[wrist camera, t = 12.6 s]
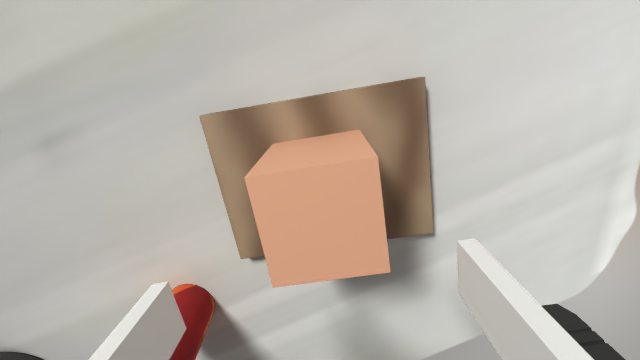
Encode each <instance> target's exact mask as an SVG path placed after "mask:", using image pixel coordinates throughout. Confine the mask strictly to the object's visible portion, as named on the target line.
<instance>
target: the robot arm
mask: <svg viewBox="0 0 640 360" xmlns="http://www.w3.org/2000/svg"><path fill="white" fill-rule="evenodd" d="M457 259H458V293H459V295H460V296H461V298H462V299H463V301H464V302H465V304H466V305H467V307H468V308H469V310H470V312H471V313H472V315H473V316H474V318H475V319H476V321H477V322H478V324H479V325H480V327H481V329H482V330H483V332H484V333H485V335H486V336H487V338H488V339H489V341H490V342H491V344H492V345H493V347H494V349H495V350H496V352H497V353H498V355H499V356H500V358H501V359H502V360H625V359H624V358H623V357H622V356H621V355H620V354H619V353H617V352H616V351H615V350H614V349H613V348H612V347H611V346H610V345H609V344H607V343H605V342H604V340H603V339H602V338H601V337H600V336H599V335H598V334H597V333H596V332H594V331H592V330H591V328H590V327H589V326H588V325H587V324H586V323H585V322H584V321H582V320H581V319H580V318H579V317H578V316H577V315H576V314H574V313H572V312H570V311H569V310H567V309H565V308H563V307H562V306H560V305H558V304H552V305H544V306H541V305H540V304H539V303H538V302H537V301H536V300H535V299H534V298H533V297H532V296H531V295H530V294H529V293H528V292H527V291H526V290H525V289H524V288H523V287H522V286H521V285H520V284H519V283H518V282H517V281H516V280H515V279H514V278H513V277H512V276H511V275H510V274H509V273H508V272H507V271H506V270H505V269H504V267H503V266H502V265H501V264H500V263H499V262H498V261H497V260H496V259H495V258H494V257H493V256H492V255H491V254H490V253H489V252H488V251H487V250H486V249H485V248H484V247H483V246H482V245H481V244H480V243H479V242H478V241H477V240H476V239H475V238H474V239H467V240H460V241H457ZM185 330H186V326H185V324H184V321H183V318H182V316H181V313H180V311H179V308H178V306H177V303H176V300H175V298H174V295H173V293H172V290H171V288H170V285H169V282H163V283H156V284H152V285H151V286H150V287H149V289H148V290H147V291H146V292H145V293H144V295H143V296H142V297H141V298H140V299H139V301H138V302H137V303H136V304H135V305H134V306H133V308H132V309H131V310H130V311H129V312H128V314H127V315H126V316H125V317H124V318H123V320H122V321H121V322H120V323H119V324H118V325H117V327H116V328H115V329H114V330H113V331H112V333H111V334H110V335H109V336H108V337H107V339H106V340H105V341H104V342H103V343H102V344H101V346H100V347H99V348H98V349H97V350H96V352H95V353H94V354H93V355H92V356H91V358H90V359H89V360H169V359H170V358H171V356H172V354H173V352H174V350H175V349H176V347H177V345H178V343H179V341H180V339H181V338H182V336H183V334H184V332H185ZM0 360H40V359H38V358H35V357H32V356H29V355H25V354H21V353H14V352H0Z"/></svg>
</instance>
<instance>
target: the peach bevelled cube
mask: <svg viewBox="0 0 640 360" xmlns="http://www.w3.org/2000/svg"><path fill="white" fill-rule="evenodd" d="M244 179H245V182H246V186H247V190H248V194H249V198H250V201H251V205H252V209H253V213H254V217H255V221H256V224H257V228H258V232H259V236H260V240H261V244H262V247H263V251H264V255H265V259H266V263H267V267H268V270H269V274H270V278H271V282H272V286H273V287H281V286H289V285H297V284H304V283H312V282H320V281H328V280H336V279H343V278H351V277H359V276H367V275H374V274H382V273H390V263H389V254H388V244H387V235H386V226H385V217H384V208H383V199H382V190H381V180H380V171H379V162H378V156H377V154H376V153H375V152H374V150H373V149H372V147H371V146H370V144H369V143H368V141H367V140H366V138H365V137H364V135H363V134H362V132H361V131H360V130H354V131H348V132H341V133H335V134H329V135H323V136H317V137H311V138H305V139H299V140H293V141H286V142H280V143H274V144H272V145H271V146H270V148H269V149H268V150H267V151H266V152H265V154H264V155H263V156H262V157H261V158H260V159H259V161H258V162H257V163H256V164H255V165H254V167H253V168H252V169H251V170H250V171H249V172H248V174H247V175H246V176H245V177H244Z"/></svg>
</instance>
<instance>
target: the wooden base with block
mask: <svg viewBox="0 0 640 360" xmlns="http://www.w3.org/2000/svg"><path fill="white" fill-rule="evenodd" d="M199 117H200V120H201V124H202V127H203V131H204V134H205V137H206V141H207V144H208V148H209V151H210V155H211V158H212V161H213V165H214V168H215V172H216V175H217V179H218V182H219V186H220V189H221V192H222V196H223V199H224V203H225V206H226V210H227V213H228V216H229V220H230V223H231V227H232V230H233V234H234V237H235V240H236V244H237V247H238V251H239V254H240V258H241V259H245V258H252V257H259V256H265V255H264V251H263V247H262V244H261V240H260V236H259V232H258V228H257V224H256V221H255V217H254V213H253V209H252V205H251V201H250V198H249V194H248V190H247V186H246V182H245V179H244V177H245V176H246V175H247V174H248V172H249V171H250V170H251V169H252V168H253V167H254V165H255V164H256V163H257V162H258V161H259V159H260V158H261V157H262V156H263V155H264V154H265V152H266V151H267V150H268V149H269V148H270V146H271V145H272V144H274V143H280V142H286V141H293V140H299V139H305V138H311V137H317V136H323V135H329V134H335V133H341V132H348V131H354V130H360V131H361V132H362V134H363V135H364V137H365V138H366V140H367V141H368V143H369V144H370V146H371V147H372V149H373V150H374V152H375V153H376V154H377V156H378V162H379V171H380V180H381V190H382V199H383V208H384V217H385V226H386V235H387V239H391V238H398V237H406V236H413V235H420V234H428V233H433V217H432V198H431V180H430V161H429V142H428V124H427V105H426V86H425V77H418V78H412V79H406V80H400V81H395V82H389V83H383V84H377V85H372V86H366V87H360V88H354V89H349V90H343V91H337V92H331V93H326V94H320V95H314V96H308V97H303V98H297V99H291V100H285V101H280V102H274V103H268V104H262V105H257V106H251V107H245V108H239V109H234V110H228V111H222V112H216V113H211V114H205V115H202V116H199Z"/></svg>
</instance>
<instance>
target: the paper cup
mask: <svg viewBox="0 0 640 360" xmlns="http://www.w3.org/2000/svg"><path fill="white" fill-rule="evenodd" d="M172 293H173V295H174V298H175V300H176V303H177V306H178V308H179V311H180V313H181V316H182V318H183V321H184V324H185V326H186V330H185V332H184V334H183V336H182V338H181V339H180V341H179V343H178V345H177V347H176V349H175V350H174V352H173V354H172V356H171V358H170V359H169V360H195V359H196V356H197V354H198V351H199V349H200V346H201V344H202V341H203V339H204V336H205V334H206V331H207V328H208V326H209V323H210V321H211V318H212V315H213V312H214V308H215V304H214V300H213V298H212V296H211V295H210V293H209V292H208V291H206V290H205V289H204V288H202V287H200V286H197V285H193V284H183V285H180V286H177V287H176V288H174V289H173V290H172Z"/></svg>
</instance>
